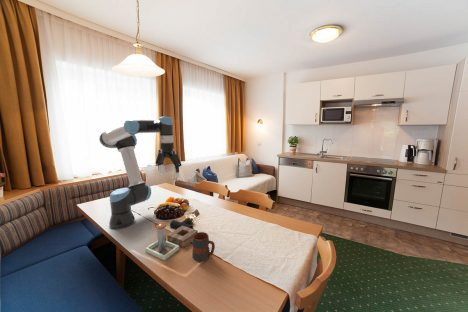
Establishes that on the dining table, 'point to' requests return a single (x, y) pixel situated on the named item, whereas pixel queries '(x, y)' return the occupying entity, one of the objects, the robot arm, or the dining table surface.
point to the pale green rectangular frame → (161, 256)
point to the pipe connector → (182, 223)
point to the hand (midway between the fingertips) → (168, 176)
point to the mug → (202, 247)
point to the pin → (161, 237)
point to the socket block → (181, 236)
